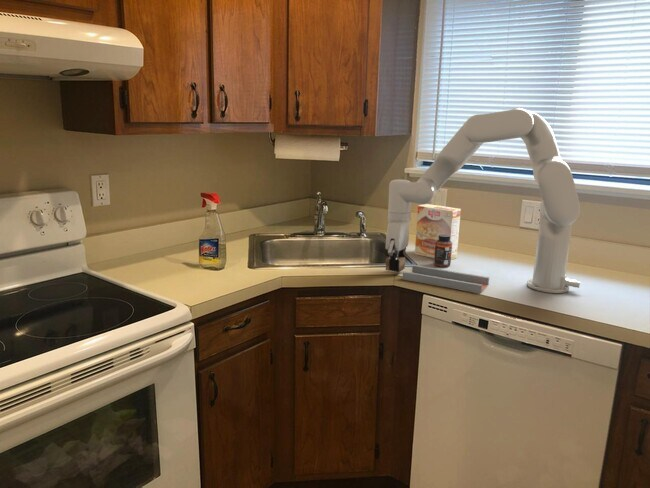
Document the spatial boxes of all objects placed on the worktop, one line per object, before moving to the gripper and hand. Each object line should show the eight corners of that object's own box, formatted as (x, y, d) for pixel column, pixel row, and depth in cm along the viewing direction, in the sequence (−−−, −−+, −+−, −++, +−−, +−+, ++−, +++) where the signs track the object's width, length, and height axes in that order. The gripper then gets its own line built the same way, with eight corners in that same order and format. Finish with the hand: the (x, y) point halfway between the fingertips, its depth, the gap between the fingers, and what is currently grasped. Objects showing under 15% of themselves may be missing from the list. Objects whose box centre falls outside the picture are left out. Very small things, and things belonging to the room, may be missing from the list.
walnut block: (404, 268, 187) (405, 257, 186) (399, 272, 183) (399, 260, 182) (391, 266, 189) (391, 255, 188) (385, 270, 185) (386, 258, 184)
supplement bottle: (450, 268, 194) (453, 237, 191) (433, 266, 195) (436, 236, 192) (450, 263, 200) (452, 234, 197) (433, 262, 201) (436, 233, 198)
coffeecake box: (414, 254, 212) (417, 205, 207) (423, 251, 217) (426, 203, 212) (448, 261, 202) (452, 210, 198) (457, 258, 208) (461, 208, 203)
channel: (488, 284, 176) (489, 277, 176) (480, 293, 167) (481, 285, 167) (413, 271, 188) (413, 264, 188) (402, 279, 180) (402, 272, 179)
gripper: (398, 211, 190) (396, 261, 195) (378, 219, 176) (376, 273, 180) (418, 213, 187) (416, 264, 191) (400, 222, 172) (397, 276, 177)
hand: (397, 268), depth 186 cm, fingers closed on walnut block, 5 cm apart
